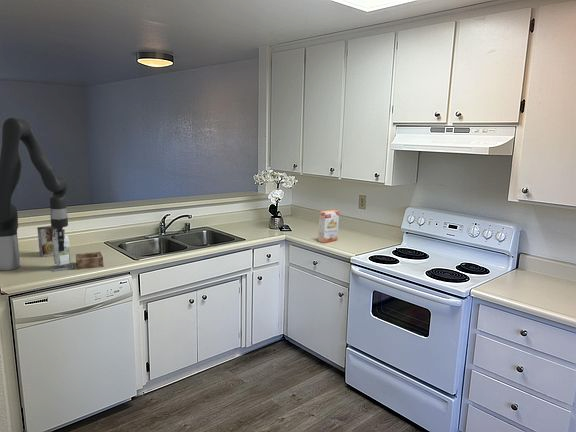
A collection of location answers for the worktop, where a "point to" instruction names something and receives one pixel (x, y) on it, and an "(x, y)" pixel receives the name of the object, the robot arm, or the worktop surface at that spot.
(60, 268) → the coaster
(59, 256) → the syrup box
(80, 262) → the box
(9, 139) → the robot arm
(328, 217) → the cracker box
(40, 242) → the coffee box
